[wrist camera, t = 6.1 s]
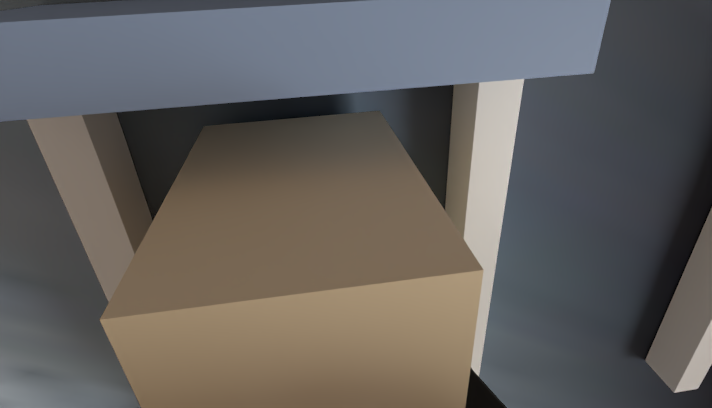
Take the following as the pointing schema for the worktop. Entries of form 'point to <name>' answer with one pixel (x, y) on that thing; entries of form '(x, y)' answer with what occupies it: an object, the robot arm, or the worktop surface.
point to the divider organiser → (303, 79)
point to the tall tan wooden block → (298, 276)
